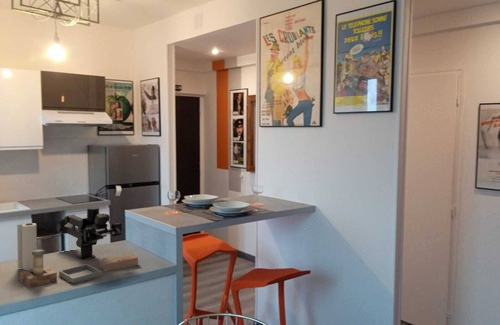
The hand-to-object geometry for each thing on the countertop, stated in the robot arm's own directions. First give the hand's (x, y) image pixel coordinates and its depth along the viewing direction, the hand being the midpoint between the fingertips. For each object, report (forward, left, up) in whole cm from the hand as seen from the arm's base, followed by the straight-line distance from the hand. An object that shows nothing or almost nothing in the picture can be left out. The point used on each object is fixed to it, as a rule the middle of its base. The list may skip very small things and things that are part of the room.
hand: (112, 235), depth 192 cm
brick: (-2, +6, -17) cm, 18 cm away
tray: (-2, -14, -17) cm, 22 cm away
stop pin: (-10, -29, -17) cm, 35 cm away
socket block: (-10, -29, -17) cm, 35 cm away
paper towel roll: (-28, -26, -17) cm, 42 cm away
